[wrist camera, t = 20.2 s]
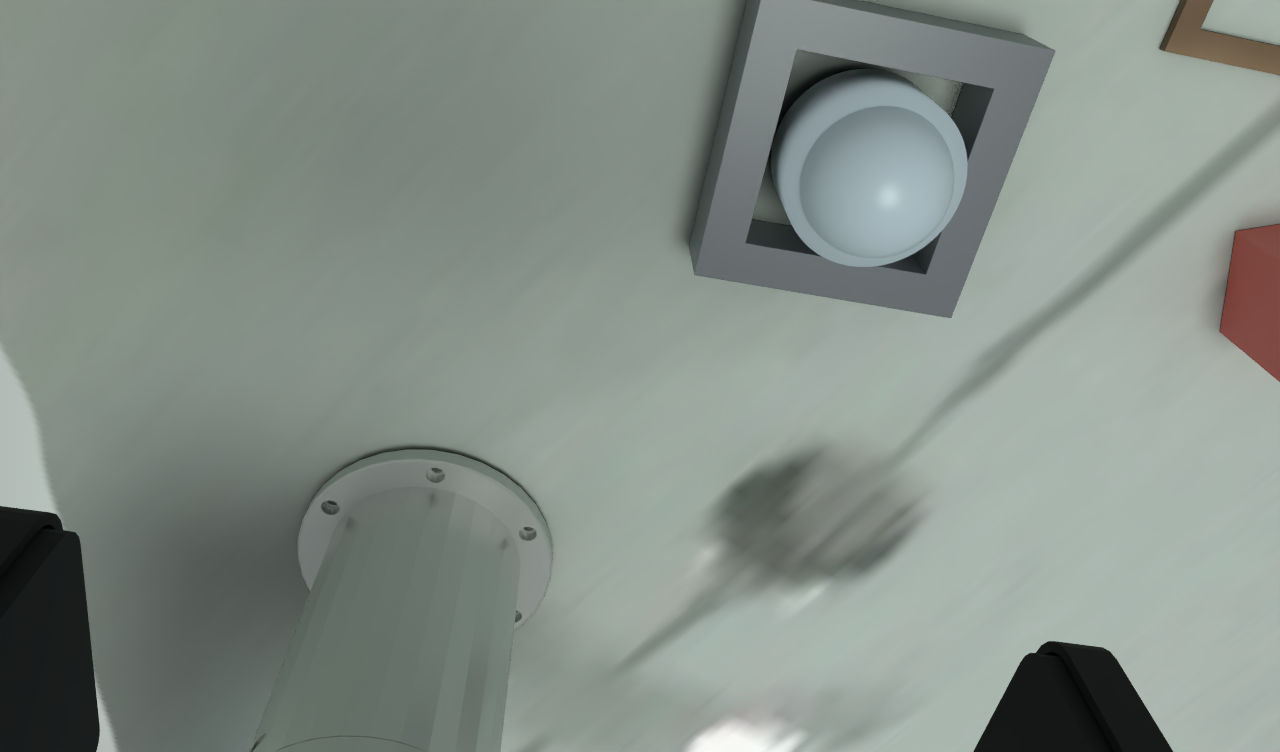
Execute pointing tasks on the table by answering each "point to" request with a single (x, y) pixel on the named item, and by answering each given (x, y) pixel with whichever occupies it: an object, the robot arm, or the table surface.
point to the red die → (1255, 296)
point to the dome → (868, 168)
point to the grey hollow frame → (871, 33)
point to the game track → (1216, 41)
